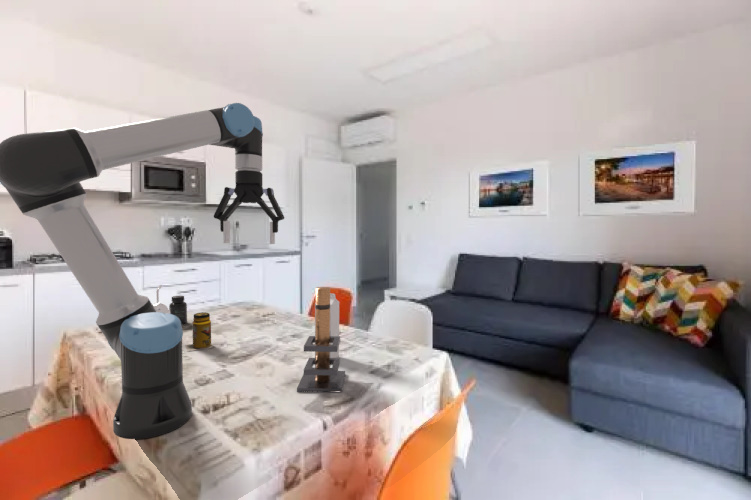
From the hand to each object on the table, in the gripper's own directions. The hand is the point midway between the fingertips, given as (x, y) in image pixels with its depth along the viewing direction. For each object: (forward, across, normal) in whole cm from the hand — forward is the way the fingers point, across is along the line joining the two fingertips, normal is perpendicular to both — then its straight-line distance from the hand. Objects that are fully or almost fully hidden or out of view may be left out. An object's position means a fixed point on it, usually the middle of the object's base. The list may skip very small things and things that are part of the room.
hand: (249, 243), depth 110 cm
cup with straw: (+39, +45, -27) cm, 65 cm away
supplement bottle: (+39, +50, -49) cm, 80 cm away
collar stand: (+38, -23, +8) cm, 46 cm away
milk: (+39, -22, -12) cm, 46 cm away
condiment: (+39, +26, -20) cm, 51 cm away
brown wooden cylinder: (+38, -23, +7) cm, 45 cm away
